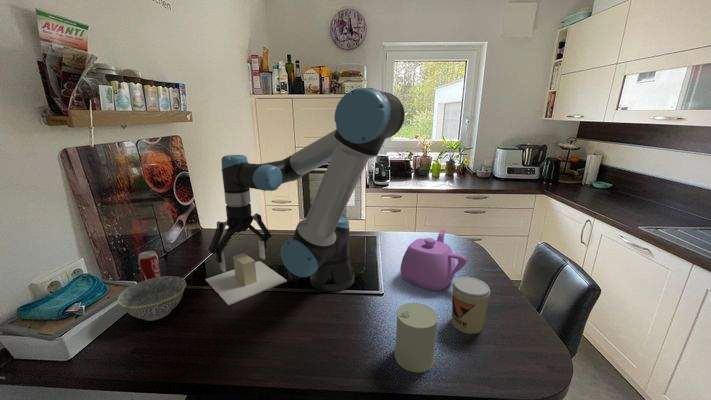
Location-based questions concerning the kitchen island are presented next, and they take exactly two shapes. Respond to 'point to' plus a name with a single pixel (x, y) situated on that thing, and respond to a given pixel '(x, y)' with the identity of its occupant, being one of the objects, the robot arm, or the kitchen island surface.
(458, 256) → the teapot
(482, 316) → the cream canister
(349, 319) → the kitchen island surface
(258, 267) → the lid
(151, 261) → the soda can
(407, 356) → the can
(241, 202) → the robot arm
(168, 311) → the bowl
